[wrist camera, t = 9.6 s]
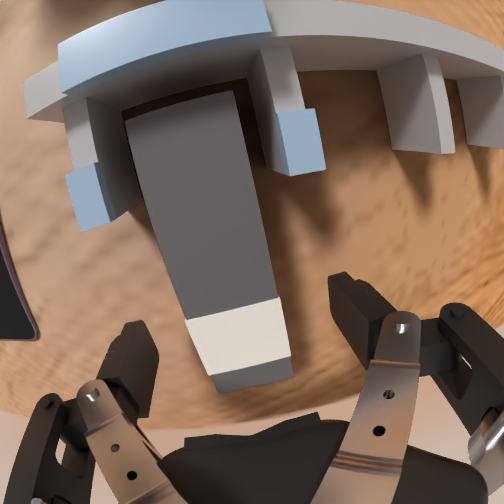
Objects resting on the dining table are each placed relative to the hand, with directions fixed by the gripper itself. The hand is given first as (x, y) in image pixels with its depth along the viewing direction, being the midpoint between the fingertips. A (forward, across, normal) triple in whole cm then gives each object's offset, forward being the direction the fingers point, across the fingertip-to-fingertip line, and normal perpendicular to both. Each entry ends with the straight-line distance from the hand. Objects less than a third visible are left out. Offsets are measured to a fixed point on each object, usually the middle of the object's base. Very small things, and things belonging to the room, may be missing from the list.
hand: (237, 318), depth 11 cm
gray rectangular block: (+3, 0, -2) cm, 4 cm away
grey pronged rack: (+3, -7, -8) cm, 11 cm away
